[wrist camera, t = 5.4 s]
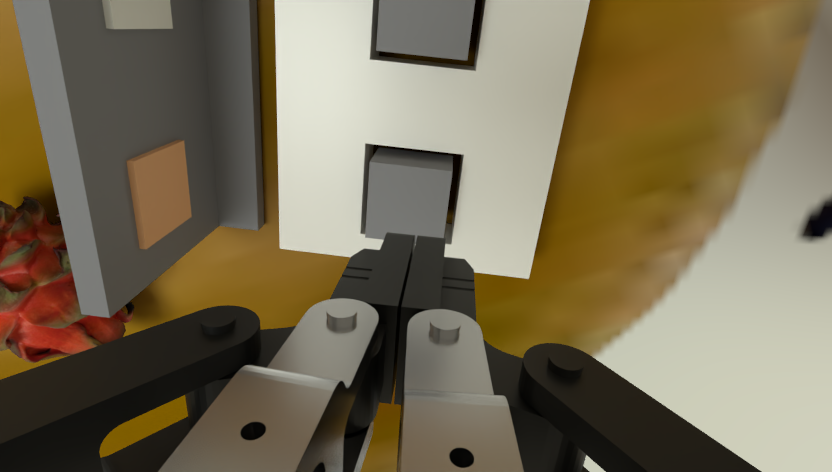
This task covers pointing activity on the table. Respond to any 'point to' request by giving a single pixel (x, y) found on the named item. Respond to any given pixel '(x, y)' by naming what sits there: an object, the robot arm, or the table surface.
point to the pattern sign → (145, 131)
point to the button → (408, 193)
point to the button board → (422, 123)
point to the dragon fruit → (44, 290)
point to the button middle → (425, 27)
